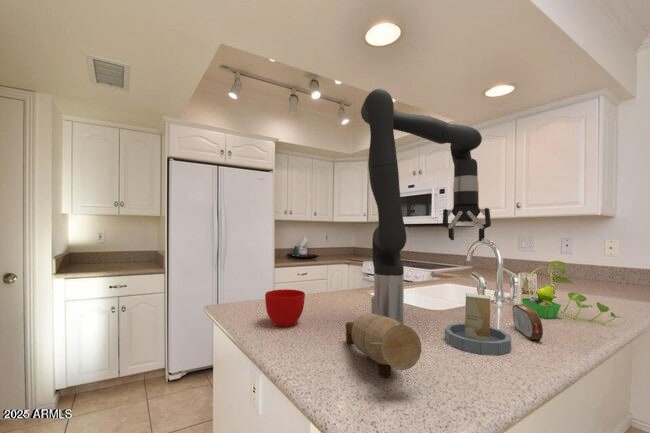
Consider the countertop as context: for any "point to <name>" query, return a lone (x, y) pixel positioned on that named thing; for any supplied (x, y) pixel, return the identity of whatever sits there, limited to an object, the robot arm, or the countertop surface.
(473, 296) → the skincare box
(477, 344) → the round dish
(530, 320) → the tin
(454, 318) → the countertop surface
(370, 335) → the wooden log toy
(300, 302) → the ceramic cup
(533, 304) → the fruit basket
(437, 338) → the countertop surface
